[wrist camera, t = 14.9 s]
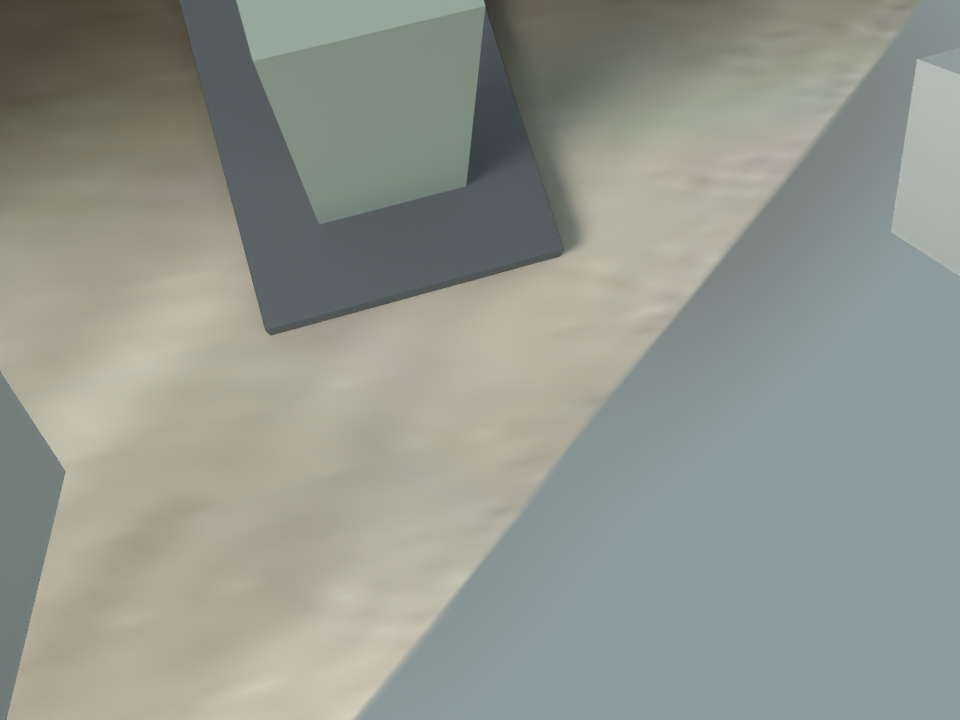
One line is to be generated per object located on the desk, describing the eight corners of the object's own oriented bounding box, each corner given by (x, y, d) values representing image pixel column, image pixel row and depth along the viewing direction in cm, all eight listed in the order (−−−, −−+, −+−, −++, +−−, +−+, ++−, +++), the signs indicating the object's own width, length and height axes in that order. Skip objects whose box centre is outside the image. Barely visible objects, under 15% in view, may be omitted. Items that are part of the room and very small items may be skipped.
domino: (319, 224, 27) (252, 61, 17) (303, 168, 27) (229, -24, 17) (466, 186, 27) (485, 6, 17) (449, 131, 27) (458, -77, 18)
